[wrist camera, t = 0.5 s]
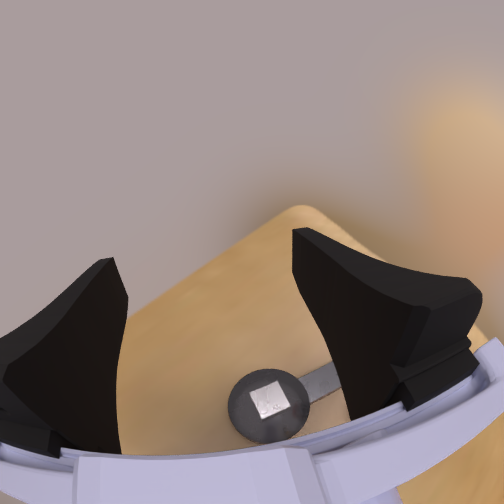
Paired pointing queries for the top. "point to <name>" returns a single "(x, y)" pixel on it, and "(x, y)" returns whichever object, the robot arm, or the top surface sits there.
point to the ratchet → (277, 402)
